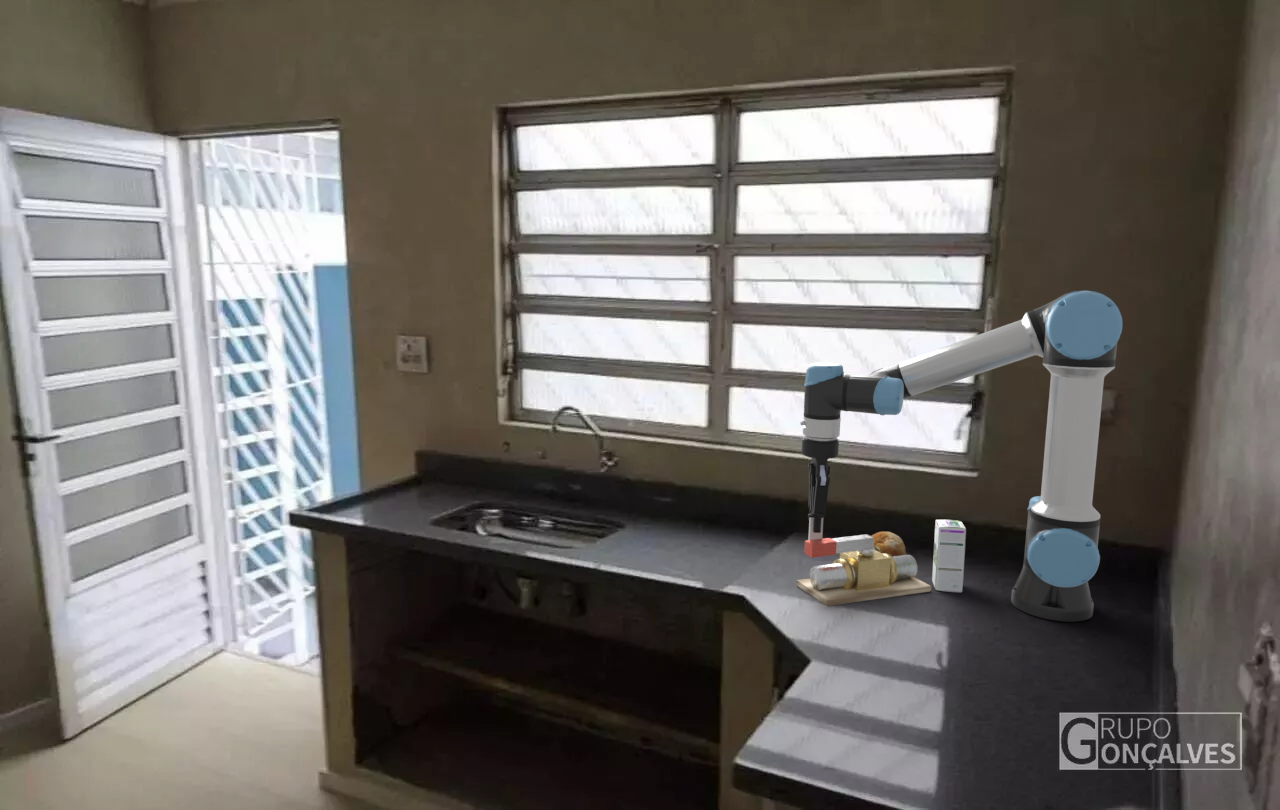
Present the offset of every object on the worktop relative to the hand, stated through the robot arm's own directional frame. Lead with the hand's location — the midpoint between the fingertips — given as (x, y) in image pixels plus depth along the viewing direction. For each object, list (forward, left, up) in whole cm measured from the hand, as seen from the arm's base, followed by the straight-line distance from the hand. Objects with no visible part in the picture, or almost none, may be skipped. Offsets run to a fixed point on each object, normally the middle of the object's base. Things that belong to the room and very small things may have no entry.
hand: (814, 545), depth 175 cm
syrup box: (-7, -29, -10) cm, 32 cm away
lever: (-2, -5, -2) cm, 6 cm away
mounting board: (-2, -11, -10) cm, 15 cm away
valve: (-2, -11, -10) cm, 15 cm away
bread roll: (+14, -28, -11) cm, 33 cm away
